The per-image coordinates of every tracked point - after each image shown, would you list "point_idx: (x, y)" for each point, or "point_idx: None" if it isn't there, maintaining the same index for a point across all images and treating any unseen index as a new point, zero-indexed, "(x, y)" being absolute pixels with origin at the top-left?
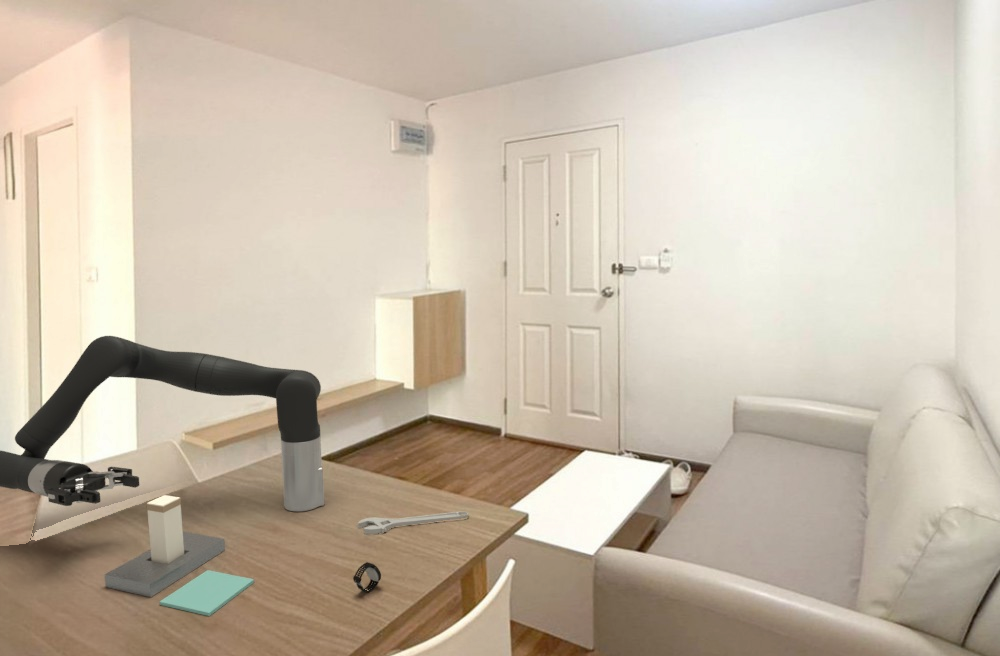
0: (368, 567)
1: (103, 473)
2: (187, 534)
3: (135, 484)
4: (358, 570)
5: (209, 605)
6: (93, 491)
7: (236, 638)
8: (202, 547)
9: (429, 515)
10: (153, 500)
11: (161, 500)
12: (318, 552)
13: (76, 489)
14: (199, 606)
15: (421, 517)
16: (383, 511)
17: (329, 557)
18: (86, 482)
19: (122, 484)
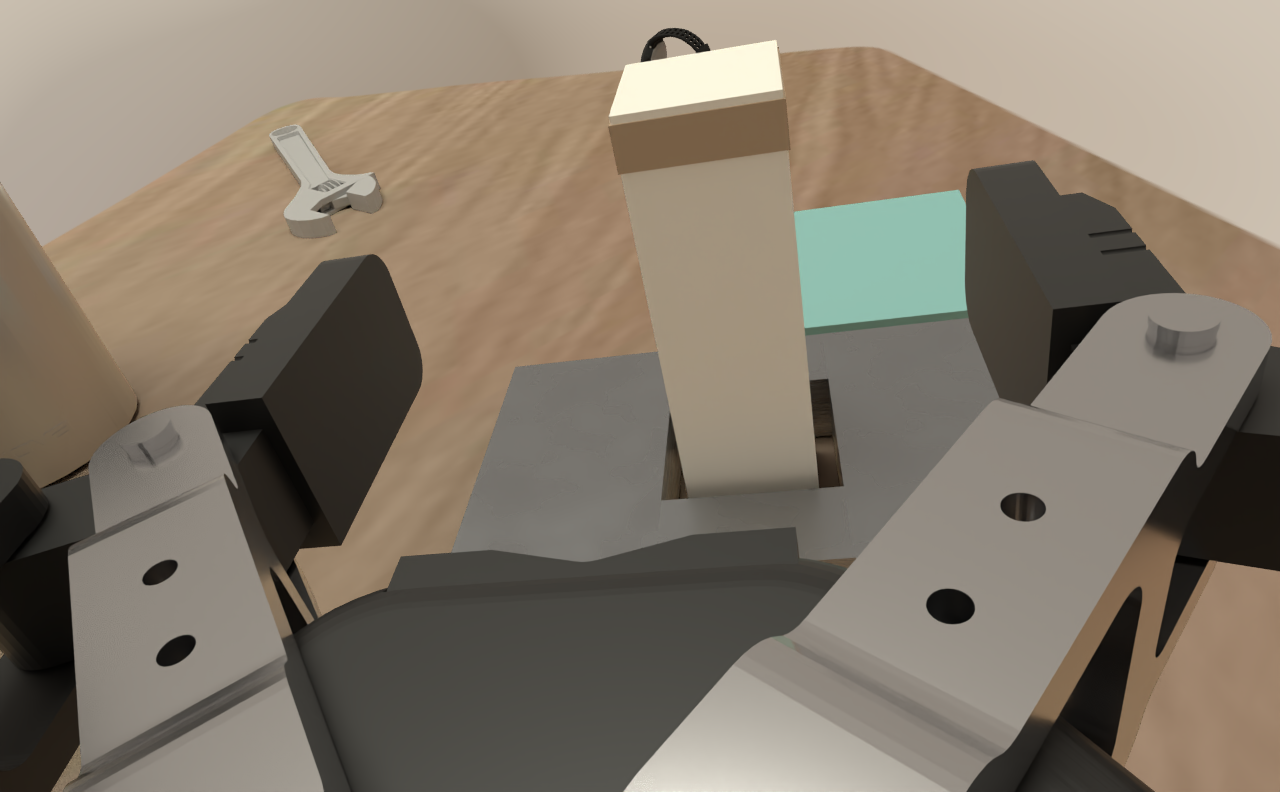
0: (676, 28)
1: (234, 575)
2: (482, 532)
3: (406, 342)
4: (687, 39)
5: (927, 208)
6: (1015, 199)
7: (989, 129)
8: (620, 378)
9: (288, 155)
10: (723, 96)
11: (704, 79)
12: (509, 223)
13: (1223, 384)
14: (949, 219)
15: (296, 162)
16: (207, 245)
17: (537, 197)
18: (766, 616)
19: (302, 574)
